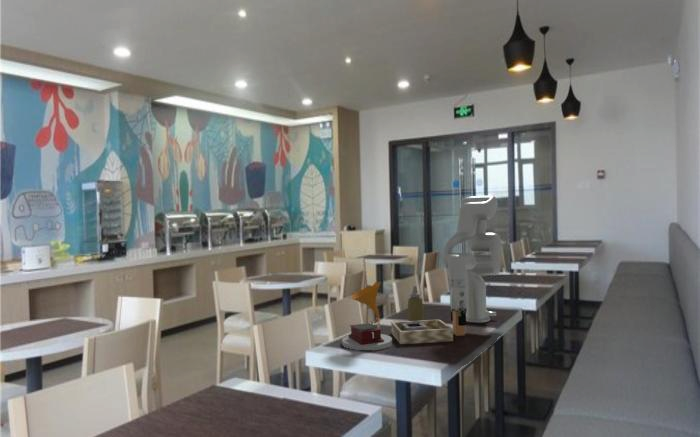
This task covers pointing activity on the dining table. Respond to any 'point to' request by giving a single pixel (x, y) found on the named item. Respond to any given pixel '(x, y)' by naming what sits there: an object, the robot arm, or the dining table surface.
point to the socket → (413, 326)
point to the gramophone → (367, 325)
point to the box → (423, 332)
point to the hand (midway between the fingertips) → (458, 323)
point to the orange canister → (456, 328)
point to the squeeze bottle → (415, 306)
